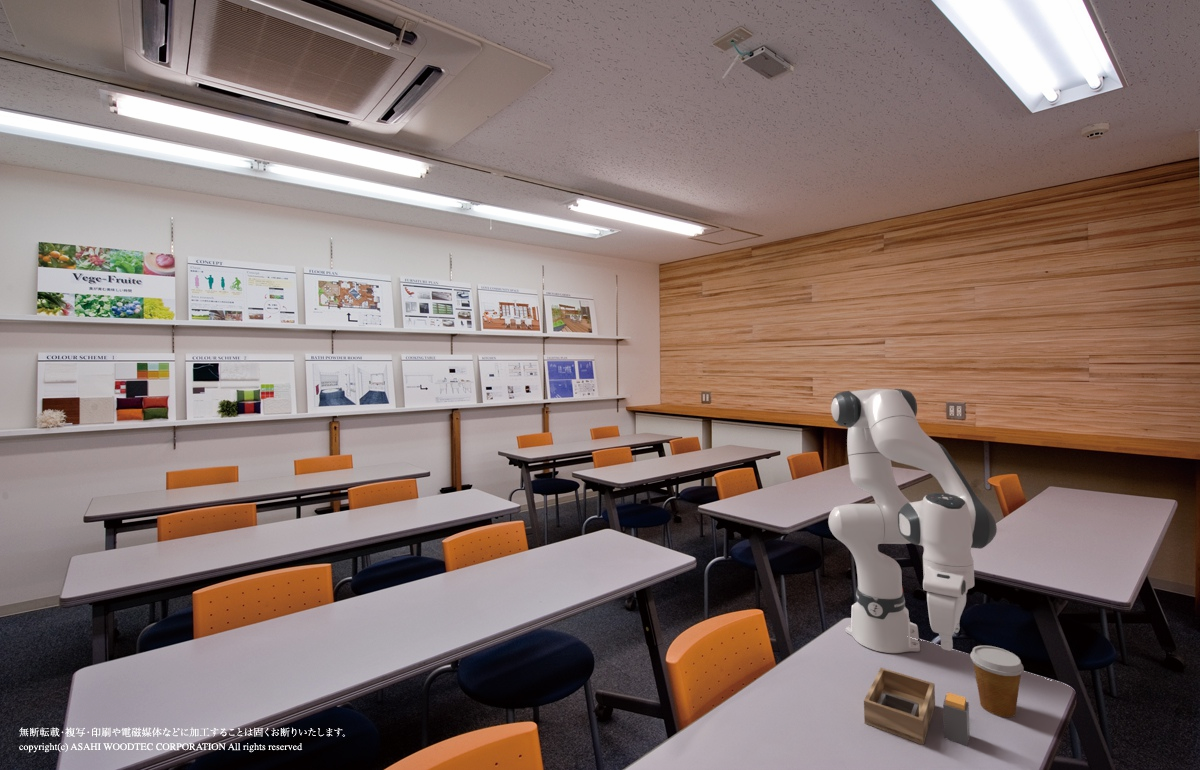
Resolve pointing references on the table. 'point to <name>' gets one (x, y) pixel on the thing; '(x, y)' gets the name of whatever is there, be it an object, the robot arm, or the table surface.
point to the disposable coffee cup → (997, 679)
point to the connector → (956, 718)
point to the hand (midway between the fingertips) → (950, 639)
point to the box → (900, 705)
